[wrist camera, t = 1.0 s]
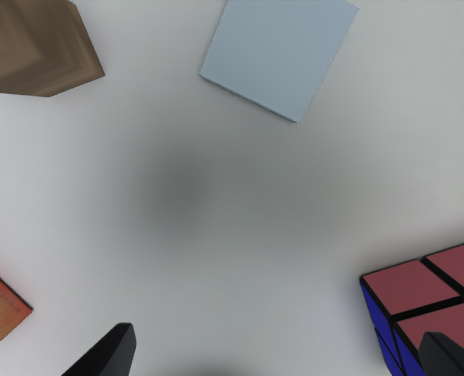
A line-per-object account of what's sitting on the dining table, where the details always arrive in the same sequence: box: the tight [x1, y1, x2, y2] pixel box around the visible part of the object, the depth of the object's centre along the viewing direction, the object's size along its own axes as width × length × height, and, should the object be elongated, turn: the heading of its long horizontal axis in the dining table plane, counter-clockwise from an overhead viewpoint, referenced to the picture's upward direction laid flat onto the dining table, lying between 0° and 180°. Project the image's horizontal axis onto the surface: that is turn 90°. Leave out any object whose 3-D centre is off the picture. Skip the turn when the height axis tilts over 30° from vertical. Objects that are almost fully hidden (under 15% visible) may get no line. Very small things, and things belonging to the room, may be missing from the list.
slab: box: [199, 0, 359, 123], centre depth 17 cm, size 7×7×2 cm
